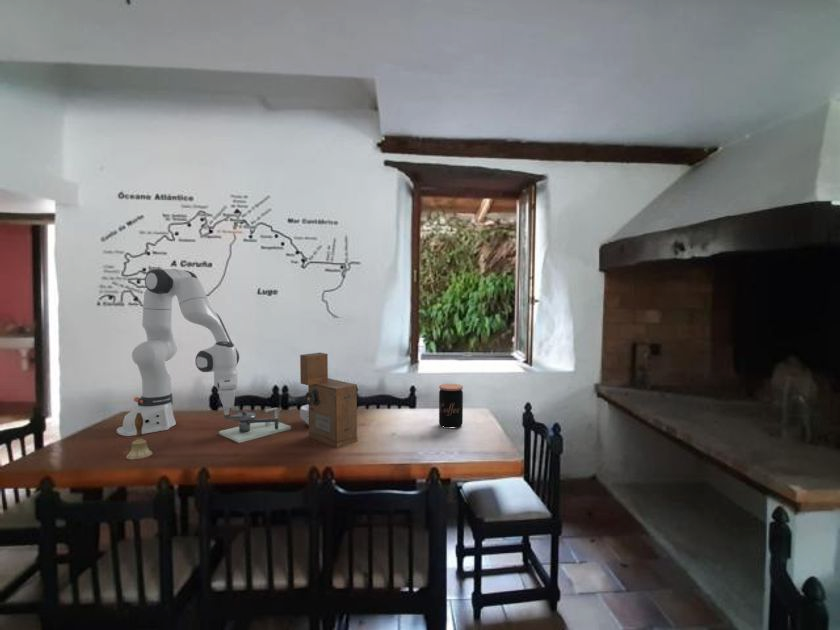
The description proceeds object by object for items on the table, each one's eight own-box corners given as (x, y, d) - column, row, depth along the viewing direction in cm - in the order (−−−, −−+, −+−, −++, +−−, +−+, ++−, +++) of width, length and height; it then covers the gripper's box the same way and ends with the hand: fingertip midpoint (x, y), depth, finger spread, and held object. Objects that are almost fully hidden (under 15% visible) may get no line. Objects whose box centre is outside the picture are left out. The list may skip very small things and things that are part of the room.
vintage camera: (300, 439, 186) (299, 354, 184) (328, 431, 197) (327, 351, 195) (328, 450, 174) (328, 359, 172) (357, 441, 184) (356, 355, 182)
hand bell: (149, 450, 174) (147, 408, 173) (155, 455, 168) (153, 413, 167) (123, 455, 168) (122, 413, 167) (129, 461, 162) (127, 417, 161)
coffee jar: (435, 427, 203) (435, 387, 202) (443, 420, 213) (443, 382, 212) (458, 430, 199) (458, 389, 198) (465, 423, 209) (465, 384, 208)
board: (238, 442, 182) (238, 419, 181) (219, 433, 193) (218, 411, 192) (291, 429, 200) (290, 407, 199) (270, 421, 211) (269, 401, 210)
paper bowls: (314, 417, 219) (314, 400, 218) (340, 421, 212) (340, 404, 212) (293, 425, 205) (293, 408, 205) (320, 430, 198) (320, 412, 198)
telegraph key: (221, 434, 187) (220, 405, 186) (227, 428, 196) (226, 400, 195) (277, 432, 190) (276, 403, 189) (280, 426, 199) (280, 398, 198)
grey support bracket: (267, 426, 199) (267, 410, 199) (265, 425, 201) (264, 409, 200) (279, 423, 204) (279, 408, 203) (276, 422, 205) (276, 407, 205)
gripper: (215, 377, 195) (216, 409, 195) (219, 386, 177) (220, 421, 177) (231, 376, 198) (231, 407, 198) (237, 384, 180) (237, 419, 180)
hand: (226, 414), depth 188 cm, fingers closed
